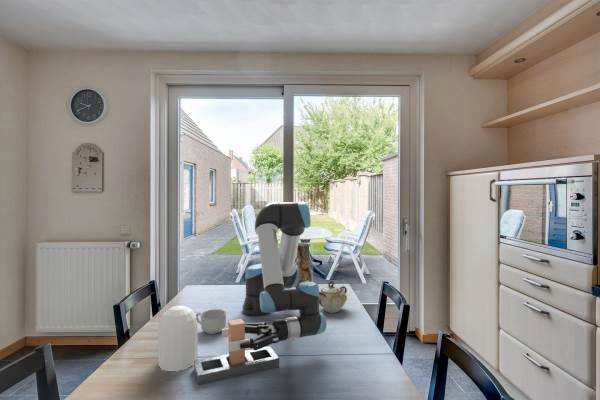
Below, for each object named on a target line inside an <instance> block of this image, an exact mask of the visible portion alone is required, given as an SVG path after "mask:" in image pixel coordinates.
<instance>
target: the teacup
mask: <svg viewBox="0 0 600 400" xmlns="http://www.w3.org/2000/svg"><path fill="white" fill-rule="evenodd" d="M195 315H196V319H197V324H199V325H200V326H201V329H202V331H203V332H204V333H206V334H208V335H215V334H219V333H220V332H221V333H222V329H225V328H226V321H227V318H226V317H227V316H226V315H227V312H226V311H225V310H223V309H219V308H214V309H213V308H211V309H208V310H205V311H203V312H197V313H195ZM199 316H200V319H199Z"/></svg>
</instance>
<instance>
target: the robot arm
mask: <svg viewBox="0 0 600 400" xmlns="http://www.w3.org/2000/svg"><path fill="white" fill-rule="evenodd" d="M311 222H312V221H311V213H310V208H309V205H308V203H306V202H304V201H292V202H291V201H290V202H289V201H284V202H283V201H281V202H280V201H279V202H278V201H276V202H275V201H273V202H270V203H268V204H266V205H264V207H262V209H260V211H259V212H258V214H257V216H256V218H255V224H254V230H255V234H256V235H257V236H258V245H259V255H260V256H259V257H260V263H256V264H253V265H250V266H248V267H247V268H246V269H245V276H244V278H245V297H244V301H243V305H242V309H241V310H242V313H243V314H244V315H246V316H250V317H251V316H254V317H256V316H265V315H268V314H270V313H279V312H290V311H291V312H292V311H298V313H299V315H295V316H290V317H285V318H278V319H274V320H273V322H272V324H268V322H267V321H263V322H262V321H261V322H244V323H245V334H251V335H252V334H253V335H257V336H255V337H254V338H252V337H249V338H245V340H240V341H234V342H229V341H228V352H229V351H230V352H231V351H236V350H241V349H245V350H246V349H250V350H252V349H253V350H254V351H255V350H258V349H261V348H263V347H267V346H271V345H272V344H273V345H274V344H278V343H280V342H283V341H284V342H285V341H287V340H295V339H299V338H303V337H310V336H316V335H320V334H323V333H324V332H325V331H326V330H327V321H326V320H327V319H326V316H325V314H324V313H323V312H320V304H319V296H320V295H319V292H320V286H319V284H318V283H316V282H314V281H312V282H302V283H300V284H299V289H296V288H295V287H296V285H297V284H298V280H299V270H298V267H297V266H296V259H297V248H298V243H299V242H300V237H301V235H302V234H304V232H305V229H309V228H310V227H311ZM279 230H280V231H281V237H280V243H278V236H277V233H278V232H279ZM227 337H229V335H228V327H227V328H226V327H224V329H222V331H221V338H227Z"/></svg>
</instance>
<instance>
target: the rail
mask: <svg viewBox="0 0 600 400" xmlns="http://www.w3.org/2000/svg"><path fill="white" fill-rule="evenodd" d="M275 368H280V357H279V356H278V354H277V353H276V352H275V351H274V349H273V348H272V347H271V345H268V346H266V347H263V348H261V349H258V350H255V351H254V350H253V349H248V350H245V363H240V364H235V365H230V366H229V353H227V354H222V355H216V356H211V357H208V358H207V357H206V358H201V359H198V360H196V361H194V366H193V370H194V374H195V379H196V382H197V385H198V386H199V385H203V384H207V383H213V382H217V381H221V380H226V379H231V378H234V377H235V378H236V377H239V376H244V375H248V374H253V373H257V372H263V371H266V370H271V369H275Z"/></svg>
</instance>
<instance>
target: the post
mask: <svg viewBox="0 0 600 400" xmlns="http://www.w3.org/2000/svg"><path fill="white" fill-rule="evenodd" d="M227 321H228V323H227V325H228V327H227V328H228V335H229V336H228V343H229V342H234V341H240V340H245V339H246V333H245V323H246V322H245V321H244V320H243V318H237V319H230V320H227ZM245 351H246V349H241V350H236V351H231V352H230V351H229V350H228V354H229V366H230V365H235V364H240V363H245Z"/></svg>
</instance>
